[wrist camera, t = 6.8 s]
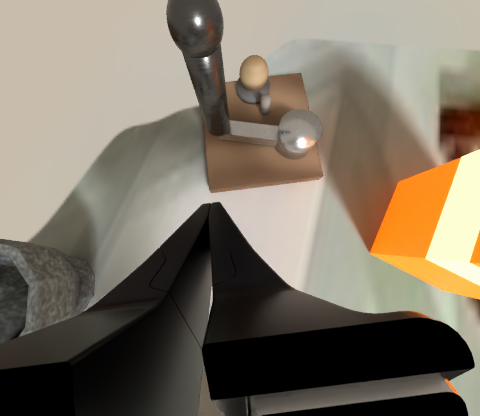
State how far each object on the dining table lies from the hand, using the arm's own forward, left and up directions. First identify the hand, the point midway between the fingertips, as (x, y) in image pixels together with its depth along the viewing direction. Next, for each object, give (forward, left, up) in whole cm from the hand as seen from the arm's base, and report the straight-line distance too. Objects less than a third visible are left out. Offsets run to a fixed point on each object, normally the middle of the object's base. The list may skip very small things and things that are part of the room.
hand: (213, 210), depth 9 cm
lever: (+4, -9, -9) cm, 14 cm away
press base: (+5, -10, -11) cm, 16 cm away
